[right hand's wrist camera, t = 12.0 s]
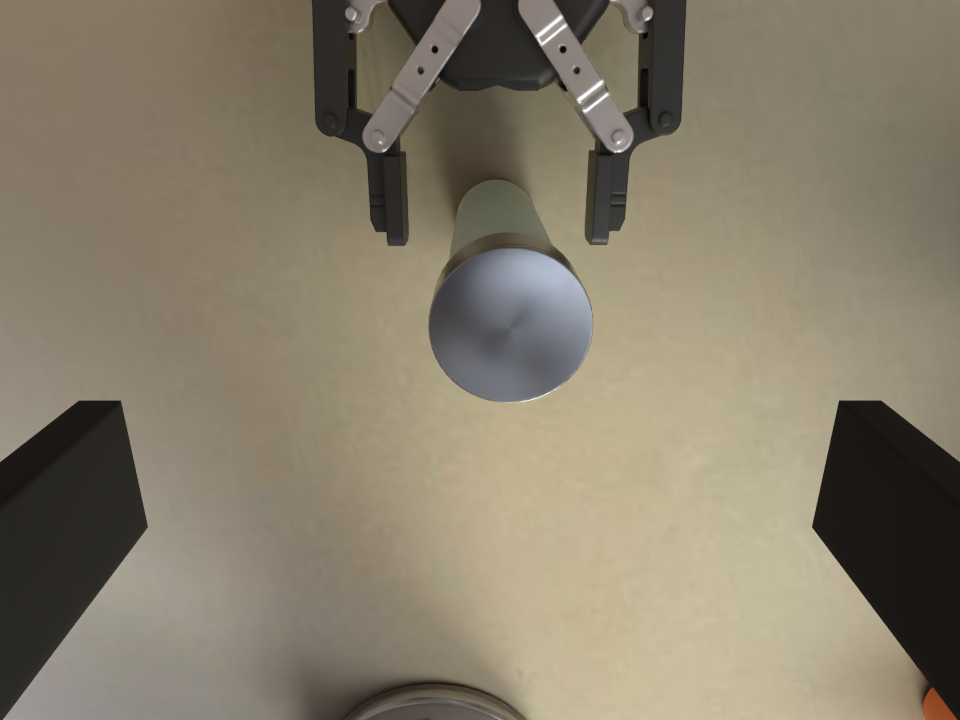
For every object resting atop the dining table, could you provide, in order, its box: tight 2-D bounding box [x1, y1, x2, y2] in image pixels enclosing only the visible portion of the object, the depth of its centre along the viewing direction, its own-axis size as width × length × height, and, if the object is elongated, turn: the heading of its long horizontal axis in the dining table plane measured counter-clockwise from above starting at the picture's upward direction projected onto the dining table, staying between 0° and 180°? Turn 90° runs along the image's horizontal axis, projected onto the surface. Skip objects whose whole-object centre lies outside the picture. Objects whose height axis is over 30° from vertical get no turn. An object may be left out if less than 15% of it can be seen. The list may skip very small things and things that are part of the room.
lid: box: [429, 232, 593, 403], centre depth 20 cm, size 5×5×2 cm
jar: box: [449, 179, 553, 260], centre depth 27 cm, size 4×4×17 cm
